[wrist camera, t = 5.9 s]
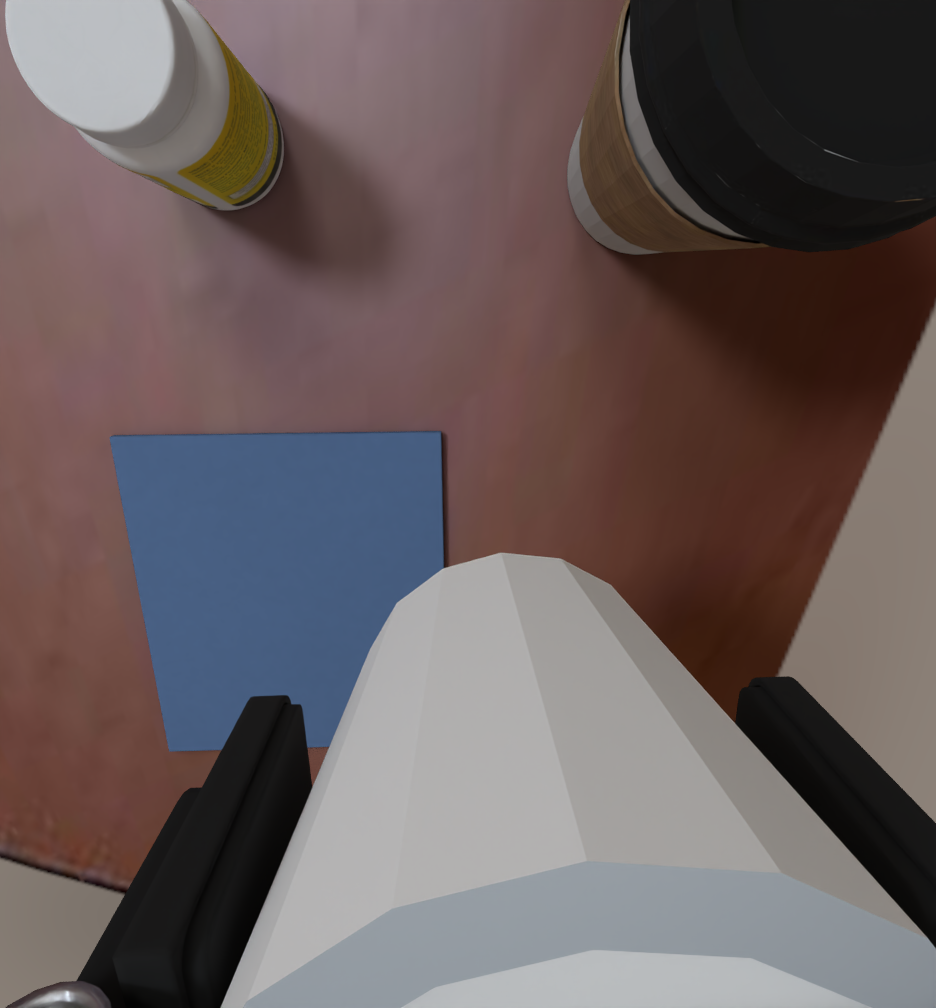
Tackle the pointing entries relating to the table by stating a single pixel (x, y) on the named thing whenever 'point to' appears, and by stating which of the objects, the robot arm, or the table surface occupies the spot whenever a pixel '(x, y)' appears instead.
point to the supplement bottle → (152, 93)
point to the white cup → (560, 830)
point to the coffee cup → (759, 126)
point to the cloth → (273, 564)
